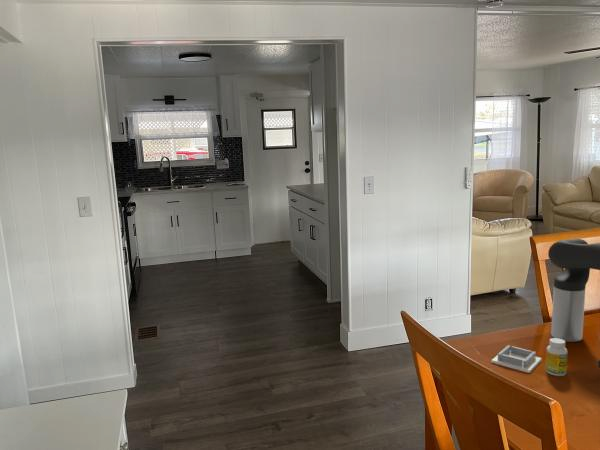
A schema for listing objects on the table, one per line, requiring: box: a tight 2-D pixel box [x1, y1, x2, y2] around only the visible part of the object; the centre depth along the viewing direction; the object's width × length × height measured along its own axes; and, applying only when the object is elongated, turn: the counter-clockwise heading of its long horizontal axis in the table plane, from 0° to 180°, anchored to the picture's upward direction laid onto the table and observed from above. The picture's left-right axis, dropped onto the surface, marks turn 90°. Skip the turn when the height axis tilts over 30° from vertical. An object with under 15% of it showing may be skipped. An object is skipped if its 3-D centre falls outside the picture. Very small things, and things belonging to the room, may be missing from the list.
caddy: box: [490, 344, 543, 374], centre depth 150 cm, size 10×11×3 cm
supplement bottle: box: [545, 337, 568, 377], centre depth 142 cm, size 5×5×10 cm
